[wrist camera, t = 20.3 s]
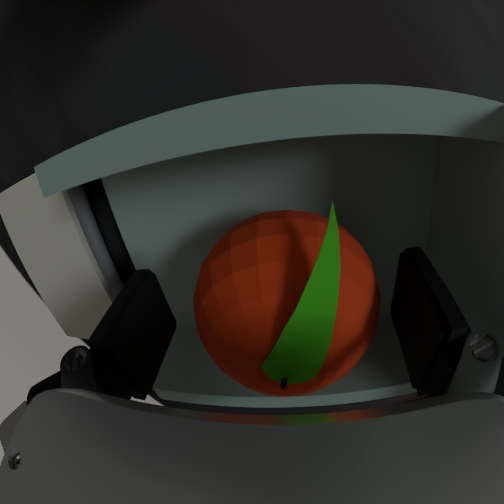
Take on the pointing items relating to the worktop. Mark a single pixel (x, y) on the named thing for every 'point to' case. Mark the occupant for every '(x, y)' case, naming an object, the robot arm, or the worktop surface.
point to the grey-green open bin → (307, 206)
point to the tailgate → (62, 253)
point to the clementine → (287, 302)
